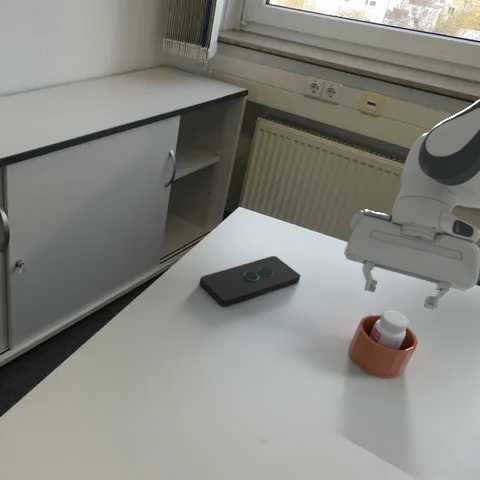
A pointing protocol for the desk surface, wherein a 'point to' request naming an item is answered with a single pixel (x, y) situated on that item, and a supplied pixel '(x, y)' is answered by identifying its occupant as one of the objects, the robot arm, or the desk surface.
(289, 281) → the smart home device
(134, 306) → the desk surface
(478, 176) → the robot arm
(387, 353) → the terracotta cup
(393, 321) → the pill bottle
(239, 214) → the desk surface
